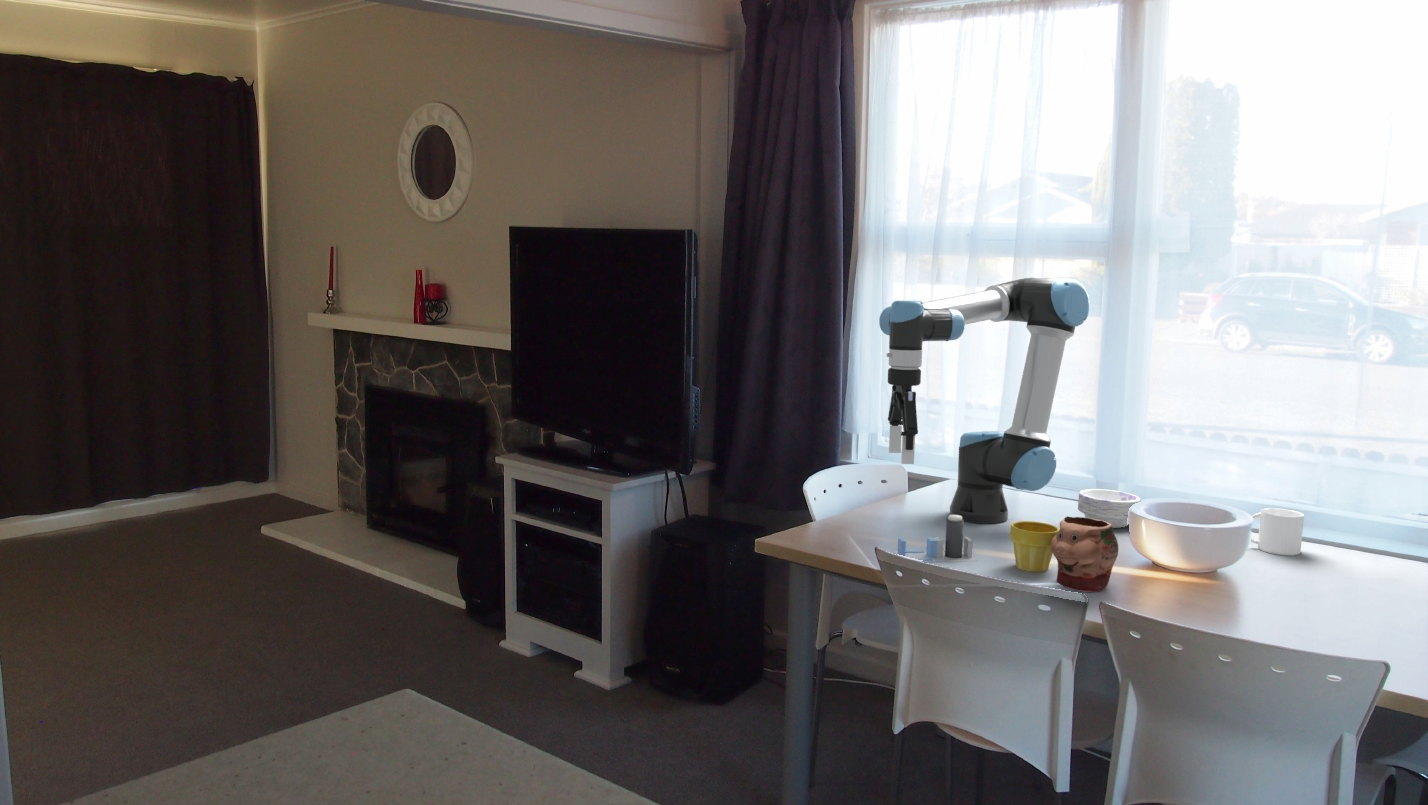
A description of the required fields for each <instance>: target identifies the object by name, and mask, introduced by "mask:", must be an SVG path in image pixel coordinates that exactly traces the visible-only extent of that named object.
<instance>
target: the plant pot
mask: <svg viewBox="0 0 1428 805" xmlns="http://www.w3.org/2000/svg"><path fill="white" fill-rule="evenodd" d="M1059 530H1060V527H1058V526H1056V525H1053V524H1051V523H1047V522H1042V521H1035V520H1020V521H1013V522H1012V523H1011V524H1010V530H1009V539H1010V541H1012V544H1013V552H1014V559H1015V566H1016V568H1017V569H1020V570H1023V571H1027V572H1034V573H1035V572H1037V573H1039V572H1047V571H1048V570H1049V567H1050V564H1051V561H1052V558H1053V553H1052V550H1051V541H1052V539H1053V538H1054V537H1055V536H1056V535H1057V534H1058V532H1059Z"/></svg>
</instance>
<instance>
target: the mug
mask: <svg viewBox="0 0 1428 805" xmlns="http://www.w3.org/2000/svg"><path fill="white" fill-rule="evenodd" d="M1251 517H1253V518H1254V519H1256V518H1259V528H1258V538H1257V539H1254V538H1252V537H1251V541H1250V542H1251V543H1253V544H1255V545H1256V544H1257V548H1258V549H1259V550H1260V551H1262V552H1264V553H1267V554H1273V555H1277V556H1286V557H1287V556H1288V557H1289V556H1290V557H1291V556H1292V557H1293V556H1299V555H1300V553H1301V550H1302V542H1303V529H1304V520H1305V519H1304V518H1305V514H1303V513H1302V512H1300V511H1297V510H1292V509H1286V508H1280V507H1279V508H1277V507H1265V508H1261V509H1260V512H1258V513H1254V514H1253V515H1252V516H1251Z"/></svg>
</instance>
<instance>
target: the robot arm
mask: <svg viewBox="0 0 1428 805" xmlns="http://www.w3.org/2000/svg"><path fill="white" fill-rule="evenodd" d="M1090 304H1091V303H1090V298H1089V294H1088V292H1087V290H1086V288H1085V286H1084V285H1083V284H1082V282H1081V283H1080V281H1078V280H1076V279H1071V278H1066V277H1065V278H1063V277H1025V278H1020V279H1016V280H1011V281H1007V282H1002V283H998V284H993V285H990V286H988V287H986V288H985V289H984V290H983V291H978V292H972V293H967V294H962V295H957V296H950V297H946V298H941V299H935V300H929V301H925V302H923V301H921V300H894V301H893V302H892V303H891V304H890V306H888V307H885V308H884V309H883V310H882V311H881V313H880V315H879V322H878V323H879V328H880V330H881V332H882V333H883V334H884V335H886V336H888V339H889V341H888V342H889V343H888V344H889V345H888V348H889V349H888V351H889V352H887V353H886V354H885V355H886V357H887V358H888V366H890V367H889V368H888V369H887V383H888V385H891V396H890V403H889V408H888V409H889V411H888V417H887V420H888V423H889V437H888V438H889V440H888V441H889V444H888V453H889V454H901V464H902V465H914V464H915V462H914V461H915V448H916V447H915V444H916V435H918V434H919V430H918V415H917V399H916V398H917V397H916V396H917V392H916V391H913V389H912V387H913V386H915V387H916V386H919V385H921V384H922V383H921V379H922V370H921V369H920V368H921V366H922V362H923V361H922V360H923V342H949V341H956V340H958V339H959V338H961V336H962V335H963V333H964V331H965V327H966V326H965V325H969V324H976V323H980V322H985V321H989V320H990V321H991V322H994V323H999V322H1005V321H1006V322H1008V321H1009V322H1010V321H1011V322H1022V323H1026V328H1027V331H1028V332H1029V334H1030V338H1029V344H1028V347H1027V353H1026V357H1025V361H1024V362H1025V363H1024V367H1023V370H1022V371H1023V372H1022V374H1021V375H1022V376H1021V381H1020V386H1019V390H1018V396H1017V399H1016V403H1015V409H1014V414H1013V419H1012V424H1011V426H1010V427H1009V428H1008V429H1006V430H1005V431H1004V432H1003V431H999V430H994V431H993V430H991V431H990V430H989V431H986V430H985V431H971V432H965V433H963V434H962V435H961V436H960V437H959V438H960V440H959V446H958V467H957V468H958V469H957V472H958V473H957V486H956V490H955V492H954V495H953V497H952V500H951V503H950V505H949V515H960V516H962V519H963V520H964V522H968V523H977V524H998V523H999V524H1000V523H1004V522H1007V520H1008V519H1009V508H1008V506H1007V502H1006V499H1005V498H1006V497H1005V495H1004V491H1003V490H1004V489H1003V486H1006V487H1011V488H1014V489H1016V490H1020V491H1029V492H1036V491H1039V490H1041V489H1043V488H1044V487H1045V486H1046V485H1048V484H1049V483H1050V481H1051V480H1052V478H1053V477H1054V474H1055V472H1056V468H1057V458H1056V454H1055V452H1054V451H1053V450H1052V449H1051V448H1050V447H1051V441H1052V440H1051V439H1050V438H1049V436H1048V435H1047V432H1048V431H1047V430H1048V427H1049V422H1050V418H1051V417H1050V416H1051V412H1052V408H1053V403H1054V397H1055V392H1056V388H1057V385H1058V380H1059V374H1060V370H1061V366H1062V361H1063V356H1064V351H1065V346H1066V342H1067V340H1069V339H1070V338H1072V337H1073V336H1074V334H1075V330H1076V327H1079V326H1081V325H1082V324H1083V323H1084V322H1085V321H1086V320H1087V319H1088V316H1089V313H1090V307H1091V305H1090ZM902 429H903V431H902Z"/></svg>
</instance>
